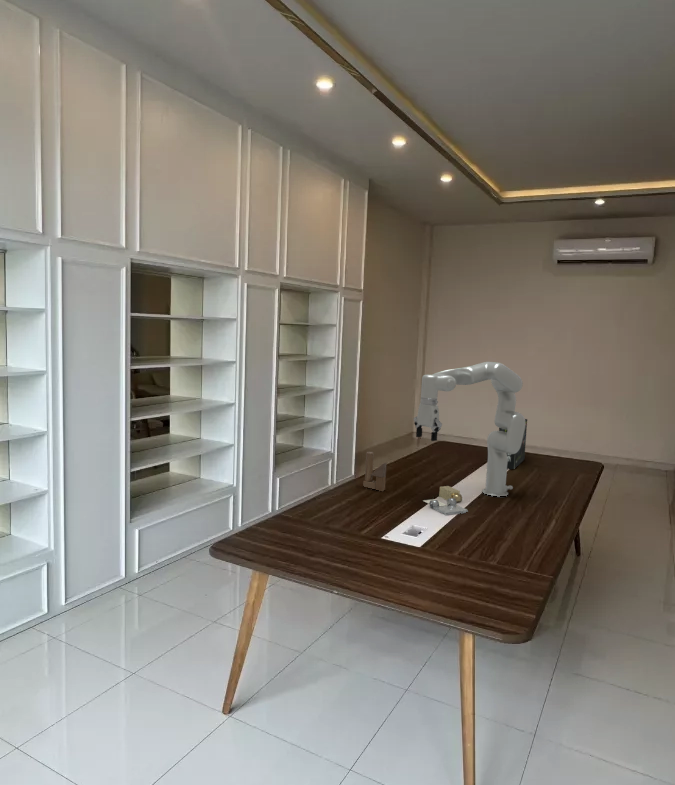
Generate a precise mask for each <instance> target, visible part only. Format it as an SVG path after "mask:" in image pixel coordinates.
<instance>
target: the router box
mask: <svg viewBox="0 0 675 785" xmlns="http://www.w3.org/2000/svg"><path fill="white" fill-rule="evenodd" d="M527 426H528V418H525V430H524V435H523V439H522V444H521V447H520V449H519V451H518V452H517V453H515V454H508V453H507V458H508V463H507V470H511V469H515V468H516V467H517V466H520V464H522V462H524V461H525V458H526V457H525V456H526V444H527V443H526V442H527V441H526V440H527V430H528V429H527ZM498 431H502V432H506V433H507V431H508V430H506V429H502V428H499V427H498ZM515 470H516V469H515Z"/></svg>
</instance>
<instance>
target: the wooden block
mask: <svg viewBox="0 0 675 785" xmlns="http://www.w3.org/2000/svg"><path fill="white" fill-rule="evenodd" d="M374 453H375V452H373V451H366V456H365V473H364V480H363V482H362V484H363V485H362V487H363V486H364V487H368V488H372V489H376V490H379V491H378V492H380V491H382V492H384V490H386V477H387V476H386V475H387V464H388V463H387V462H384V463H381V464H380V465H379V467H377V468H376V469H375V470H374V455H375V454H374ZM373 470H374V471H373ZM373 477H375V480H373ZM372 489H371V490H372ZM376 490H375V491H376Z"/></svg>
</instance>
